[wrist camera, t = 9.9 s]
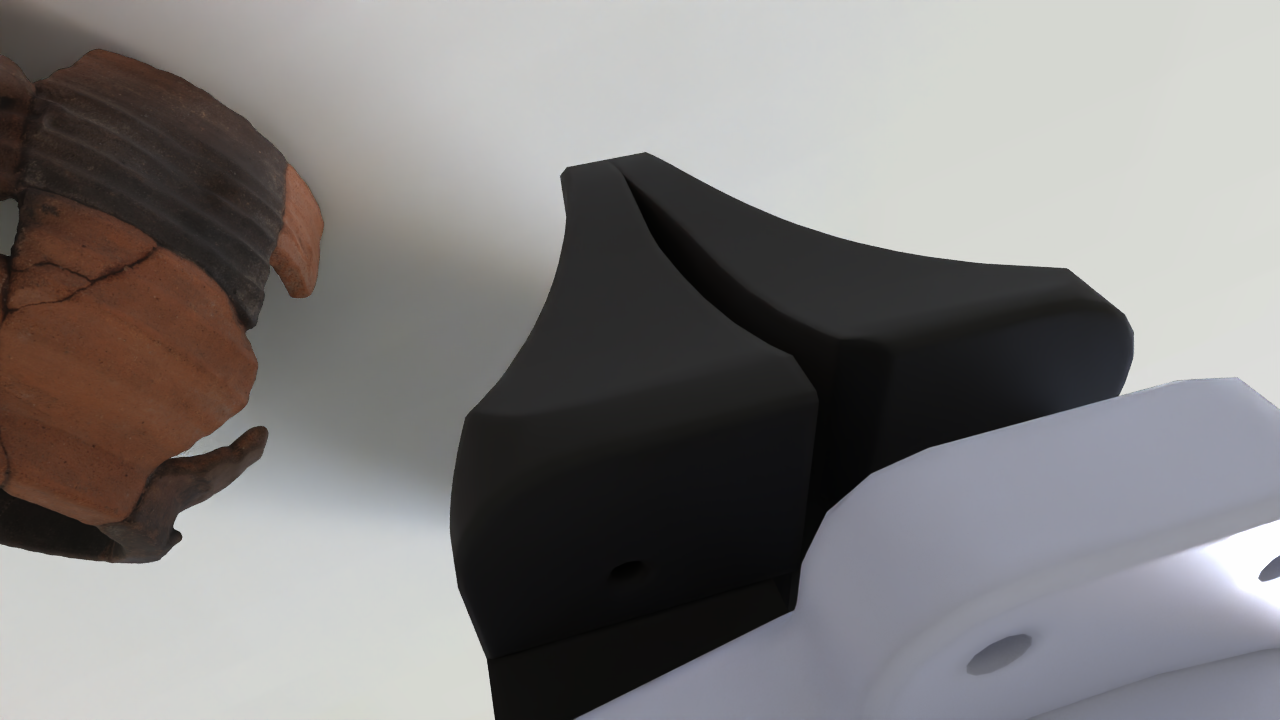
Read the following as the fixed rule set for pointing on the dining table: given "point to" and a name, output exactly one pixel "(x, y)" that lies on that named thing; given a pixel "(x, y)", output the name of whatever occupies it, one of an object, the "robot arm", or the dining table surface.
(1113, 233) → the dining table surface
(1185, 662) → the robot arm
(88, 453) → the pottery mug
